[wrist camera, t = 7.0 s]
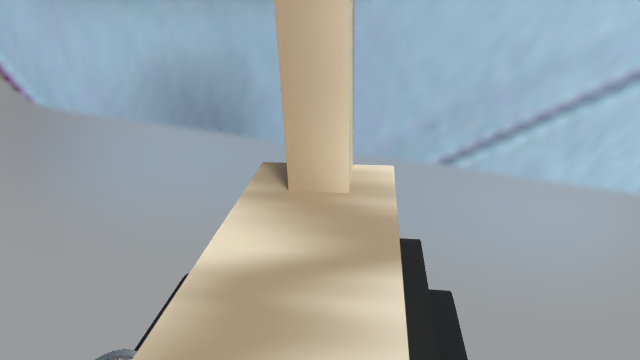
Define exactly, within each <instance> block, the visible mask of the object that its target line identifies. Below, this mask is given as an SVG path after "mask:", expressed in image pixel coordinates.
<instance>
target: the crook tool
mask: <svg viewBox="0 0 640 360" xmlns="http://www.w3.org/2000/svg"><path fill="white" fill-rule="evenodd" d="M274 3H275V17H276V30H277V43H278V56H279V69H280V82H281V96H282V109H283V122H284V135H285V148H286V161H287V163H273V162H272V163H270V162H263V163H262V165H261V166H260V167H259V169H258V170H257V172H256V174H255V175H254V177H253V178H252V180H251V181H250V183H249V184H248V186H247V187H246V189H245V190H244V192H243V193H242V195H241V196H240V198H239V199H238V201H237V202H236V204H235V205H234V207H233V208H232V210H231V212H230V213H229V214H228V216H227V217H226V219H225V221H224V222H223V223H222V225H221V226H220V228H219V229H218V231H217V232H216V234H215V235H214V237H213V238H212V240H211V241H210V243H209V245H208V246H207V247H206V249H205V250H204V252H203V254H202V255H201V257H200V258H199V260H198V261H197V263H196V264H195V266H194V267H193V269H192V270H191V272H190V273H189V275H188V276H187V278H186V279H185V281H184V282H183V284H182V285H181V287H180V288H179V290H178V291H177V293H176V294H175V296H174V297H173V299H172V300H171V302H170V303H169V305H168V306H167V308H166V309H165V311H164V312H163V314H162V315H161V317H160V318H159V320H158V321H157V323H156V324H155V326H154V327H153V329H152V330H151V332H150V333H149V335H148V336H147V338H146V340H145V341H144V343H143V344H142V346H141V347H140V349H139V350H138V352H137V353H136V355H135V356H134V358H133V359H132V360H409V350H408V337H407V325H406V313H405V300H404V288H403V276H402V263H401V251H400V238H399V226H398V214H397V201H396V190H395V177H394V166H383V165H382V166H381V165H353V120H354V0H274Z"/></svg>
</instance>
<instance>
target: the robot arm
mask: <svg viewBox="0 0 640 360" xmlns="http://www.w3.org/2000/svg"><path fill="white" fill-rule="evenodd" d="M400 251H401V263H402V276H403V288H404V300H405V313H406V325H407V337H408V350H409V360H468V359H467V355H466V351H465V346H464V342H463V338H462V334H461V329H460V325H459V321H458V317H457V312H456V308H455V304H454V300H453V296H452V293H451V292H450V291H444V290H429V289H428V283H427V277H426V271H425V265H424V258H423V252H422V246H421V241H420V239H401V238H400ZM188 275H189V273H188V274H186V275H185V276H184V277H183V278H182V280H181V281H180V283H179V285H178V286H177V288H176V289H175V291H174V292H173V293H172V295H171V296H170V298H169V299H168V301H167V302H166V304H165V305H164V307H163V308H162V310H161V311H160V313H159V314H158V316H157V317H156V319H155V320H154V322H153V323H152V325H151V326H150V327H149V329H148V330H147V332H146V333H145V335H144V337H143V338H142V339H141V341H140V343H139V344H138V345H137V347H136V348H135V350H130V349H122V350H116V351H112V352H110V353H107V354H105V355H103V356H101V357H99V358H97V359H96V360H132V359H133V358H134V356H135V355H136V353H137V352H138V350H139V349H140V347H141V346H142V344H143V343H144V341H145V340H146V338H147V336H148V335H149V333H150V332H151V330H152V329H153V327H154V326H155V324H156V323H157V321H158V320H159V318H160V317H161V315H162V314H163V312H164V311H165V309H166V308H167V306H168V305H169V303H170V302H171V300H172V299H173V297H174V296H175V294H176V293H177V291H178V290H179V288H180V287H181V285H182V284H183V282H184V281H185V279H186V278H187V276H188Z"/></svg>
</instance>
